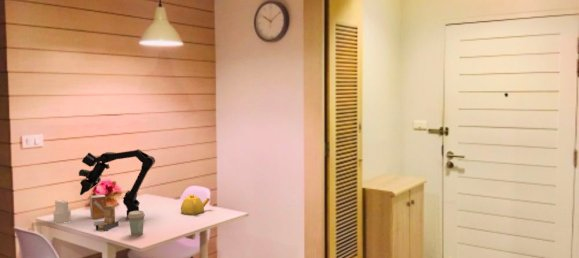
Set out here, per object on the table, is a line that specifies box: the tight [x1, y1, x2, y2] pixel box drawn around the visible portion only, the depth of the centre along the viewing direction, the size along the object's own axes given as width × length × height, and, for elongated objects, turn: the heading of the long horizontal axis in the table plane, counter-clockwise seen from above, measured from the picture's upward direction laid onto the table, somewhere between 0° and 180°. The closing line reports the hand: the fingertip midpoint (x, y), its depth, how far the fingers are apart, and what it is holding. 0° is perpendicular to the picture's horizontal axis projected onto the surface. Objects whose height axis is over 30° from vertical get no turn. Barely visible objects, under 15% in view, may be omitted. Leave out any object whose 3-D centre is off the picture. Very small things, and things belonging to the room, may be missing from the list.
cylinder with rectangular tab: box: [53, 199, 72, 224], centre depth 273 cm, size 9×9×12 cm
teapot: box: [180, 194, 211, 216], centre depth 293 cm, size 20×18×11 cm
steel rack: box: [95, 220, 120, 232], centre depth 260 cm, size 11×6×2 cm, turn 160°
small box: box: [89, 194, 107, 220], centre depth 281 cm, size 8×6×13 cm
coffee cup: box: [127, 210, 146, 237], centre depth 248 cm, size 8×8×12 cm
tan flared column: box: [103, 204, 116, 225], centre depth 262 cm, size 4×4×12 cm
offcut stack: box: [97, 223, 107, 232], centre depth 257 cm, size 4×3×4 cm
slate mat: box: [93, 220, 104, 227], centre depth 269 cm, size 7×7×1 cm
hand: (83, 193), depth 277 cm, fingers open, 9 cm apart
